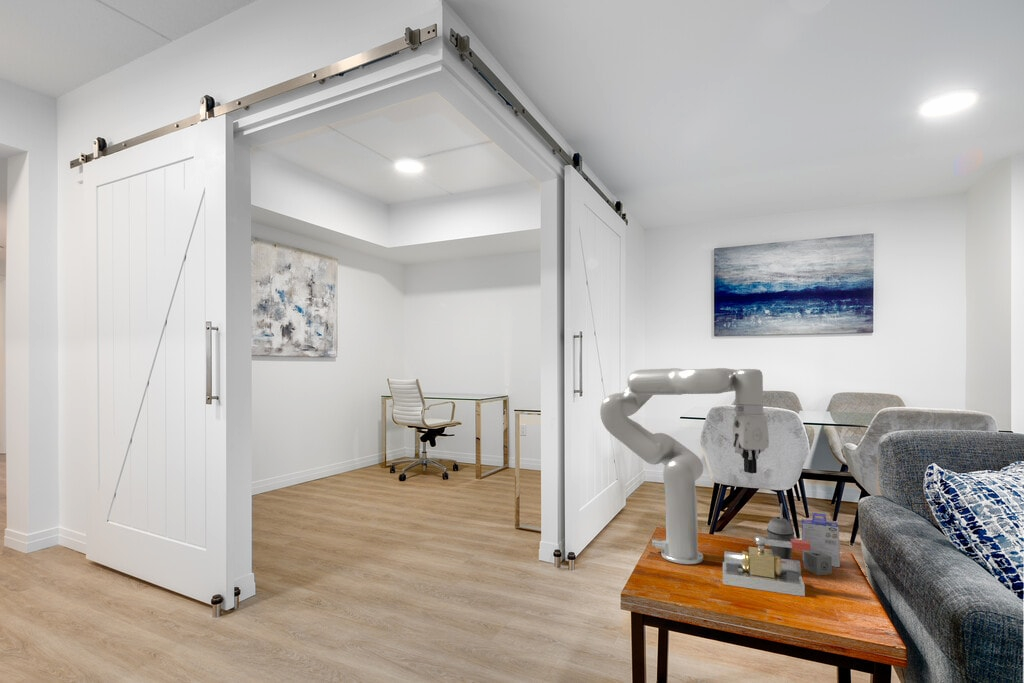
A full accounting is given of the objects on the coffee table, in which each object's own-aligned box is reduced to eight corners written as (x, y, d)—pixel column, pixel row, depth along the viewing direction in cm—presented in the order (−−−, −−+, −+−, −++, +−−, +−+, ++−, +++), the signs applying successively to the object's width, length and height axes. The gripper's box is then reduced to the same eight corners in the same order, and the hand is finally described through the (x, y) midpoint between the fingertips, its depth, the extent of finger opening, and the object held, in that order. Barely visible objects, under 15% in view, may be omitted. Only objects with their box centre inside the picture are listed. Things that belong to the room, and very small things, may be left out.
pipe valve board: (722, 584, 143) (722, 544, 144) (722, 572, 151) (722, 534, 152) (804, 596, 136) (803, 554, 136) (800, 583, 144) (799, 543, 144)
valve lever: (755, 544, 143) (755, 538, 143) (754, 541, 146) (754, 534, 146) (810, 551, 138) (810, 544, 138) (808, 547, 141) (808, 540, 141)
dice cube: (804, 568, 154) (803, 551, 154) (818, 567, 155) (818, 550, 155) (817, 575, 149) (816, 557, 149) (831, 574, 150) (831, 556, 150)
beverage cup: (788, 566, 156) (787, 499, 156) (799, 576, 148) (798, 506, 149) (763, 565, 156) (762, 498, 157) (773, 575, 149) (771, 505, 150)
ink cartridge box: (838, 561, 159) (837, 514, 160) (841, 568, 154) (839, 519, 155) (801, 556, 163) (800, 510, 164) (803, 562, 158) (802, 515, 159)
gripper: (740, 412, 147) (741, 477, 146) (778, 410, 153) (779, 472, 152) (720, 410, 154) (721, 472, 153) (757, 408, 160) (758, 468, 159)
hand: (750, 472), depth 153 cm, fingers closed
